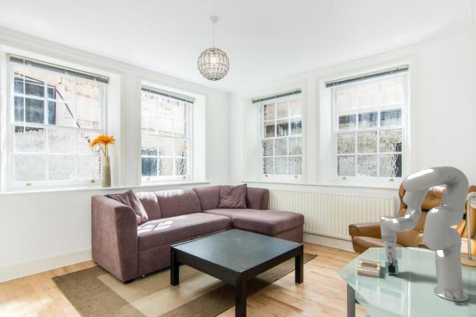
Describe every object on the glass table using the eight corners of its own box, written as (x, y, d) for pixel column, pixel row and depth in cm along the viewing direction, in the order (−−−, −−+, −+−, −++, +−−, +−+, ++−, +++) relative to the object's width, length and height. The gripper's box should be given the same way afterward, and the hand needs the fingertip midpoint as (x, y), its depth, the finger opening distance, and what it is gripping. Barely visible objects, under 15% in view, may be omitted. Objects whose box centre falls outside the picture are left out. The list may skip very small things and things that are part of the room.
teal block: (398, 274, 143) (397, 263, 143) (386, 272, 146) (385, 261, 146) (398, 270, 148) (397, 259, 148) (386, 269, 151) (385, 258, 152)
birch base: (379, 278, 143) (378, 272, 143) (357, 274, 148) (357, 268, 149) (380, 266, 158) (380, 261, 158) (360, 263, 164) (360, 258, 164)
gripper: (396, 242, 139) (400, 277, 138) (396, 235, 154) (399, 266, 153) (380, 241, 143) (384, 275, 142) (382, 234, 158) (385, 264, 156)
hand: (392, 270), depth 147 cm, fingers closed on teal block, 6 cm apart
